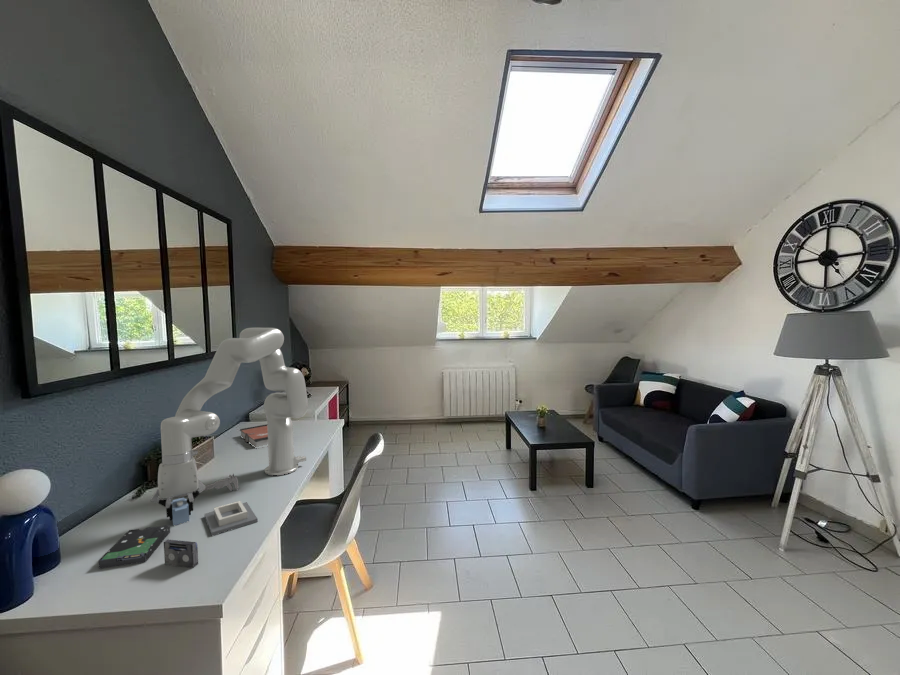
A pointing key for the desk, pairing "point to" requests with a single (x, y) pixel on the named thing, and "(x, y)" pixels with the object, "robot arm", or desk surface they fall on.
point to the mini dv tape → (181, 553)
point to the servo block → (180, 511)
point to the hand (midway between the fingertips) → (180, 515)
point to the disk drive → (134, 547)
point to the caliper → (220, 484)
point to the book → (256, 435)
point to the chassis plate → (230, 517)
